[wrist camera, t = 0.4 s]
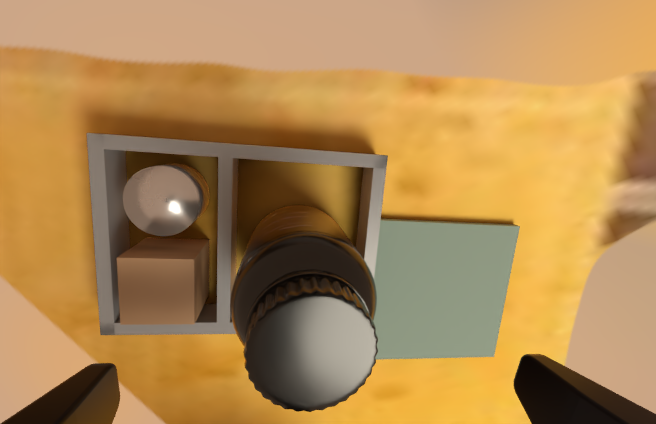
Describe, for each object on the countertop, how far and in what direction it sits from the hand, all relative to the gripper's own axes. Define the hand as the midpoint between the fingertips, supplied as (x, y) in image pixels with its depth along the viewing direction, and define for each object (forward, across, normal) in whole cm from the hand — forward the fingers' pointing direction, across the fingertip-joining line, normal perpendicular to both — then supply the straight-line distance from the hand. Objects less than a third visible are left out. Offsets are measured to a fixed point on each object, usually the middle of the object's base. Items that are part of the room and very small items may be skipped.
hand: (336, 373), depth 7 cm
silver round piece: (+16, +8, 0) cm, 18 cm away
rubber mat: (+15, -11, +7) cm, 20 cm away
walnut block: (+15, +8, +6) cm, 18 cm away
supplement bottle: (+16, 0, +4) cm, 16 cm away
